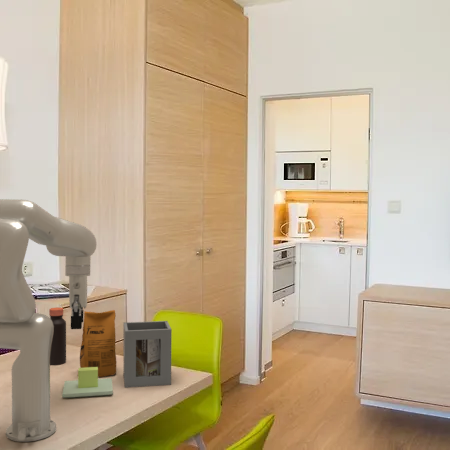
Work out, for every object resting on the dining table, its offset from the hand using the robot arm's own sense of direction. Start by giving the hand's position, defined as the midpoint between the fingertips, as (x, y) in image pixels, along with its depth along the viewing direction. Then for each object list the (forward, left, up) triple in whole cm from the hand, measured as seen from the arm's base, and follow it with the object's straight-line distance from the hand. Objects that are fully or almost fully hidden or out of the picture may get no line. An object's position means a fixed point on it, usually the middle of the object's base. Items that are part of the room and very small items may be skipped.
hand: (77, 325), depth 175 cm
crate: (+9, -22, -22) cm, 32 cm away
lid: (+2, -3, -22) cm, 22 cm away
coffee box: (+9, -22, -22) cm, 32 cm away
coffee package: (+19, -6, -22) cm, 30 cm away
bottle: (+34, +9, -22) cm, 41 cm away
